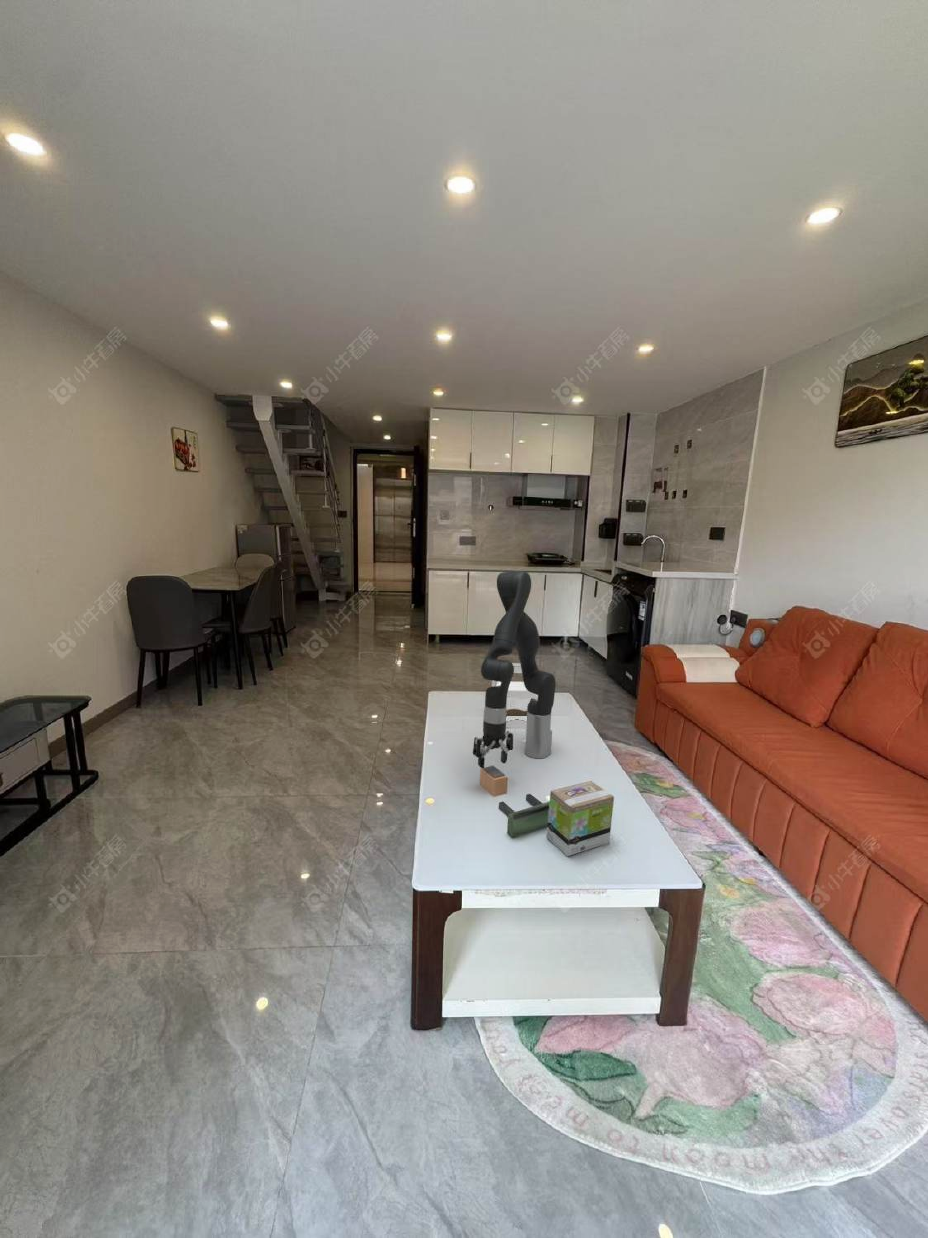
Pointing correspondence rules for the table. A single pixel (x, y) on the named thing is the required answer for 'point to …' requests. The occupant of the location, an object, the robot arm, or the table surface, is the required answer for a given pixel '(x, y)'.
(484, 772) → the framed panel box
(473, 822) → the table surface
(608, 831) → the tea box
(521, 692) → the gable box
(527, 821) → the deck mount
